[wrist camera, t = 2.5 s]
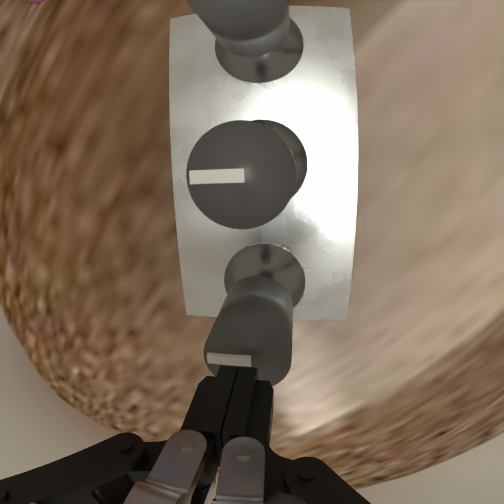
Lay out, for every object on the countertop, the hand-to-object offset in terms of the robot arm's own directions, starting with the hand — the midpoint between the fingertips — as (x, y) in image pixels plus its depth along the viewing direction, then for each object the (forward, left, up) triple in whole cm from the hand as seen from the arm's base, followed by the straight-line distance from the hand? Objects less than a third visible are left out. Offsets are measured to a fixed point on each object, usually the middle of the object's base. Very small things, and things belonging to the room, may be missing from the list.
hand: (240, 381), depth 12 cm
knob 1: (0, -16, -7) cm, 18 cm away
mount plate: (0, -8, -14) cm, 16 cm away
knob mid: (0, -8, -7) cm, 11 cm away
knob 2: (0, 0, -7) cm, 7 cm away
